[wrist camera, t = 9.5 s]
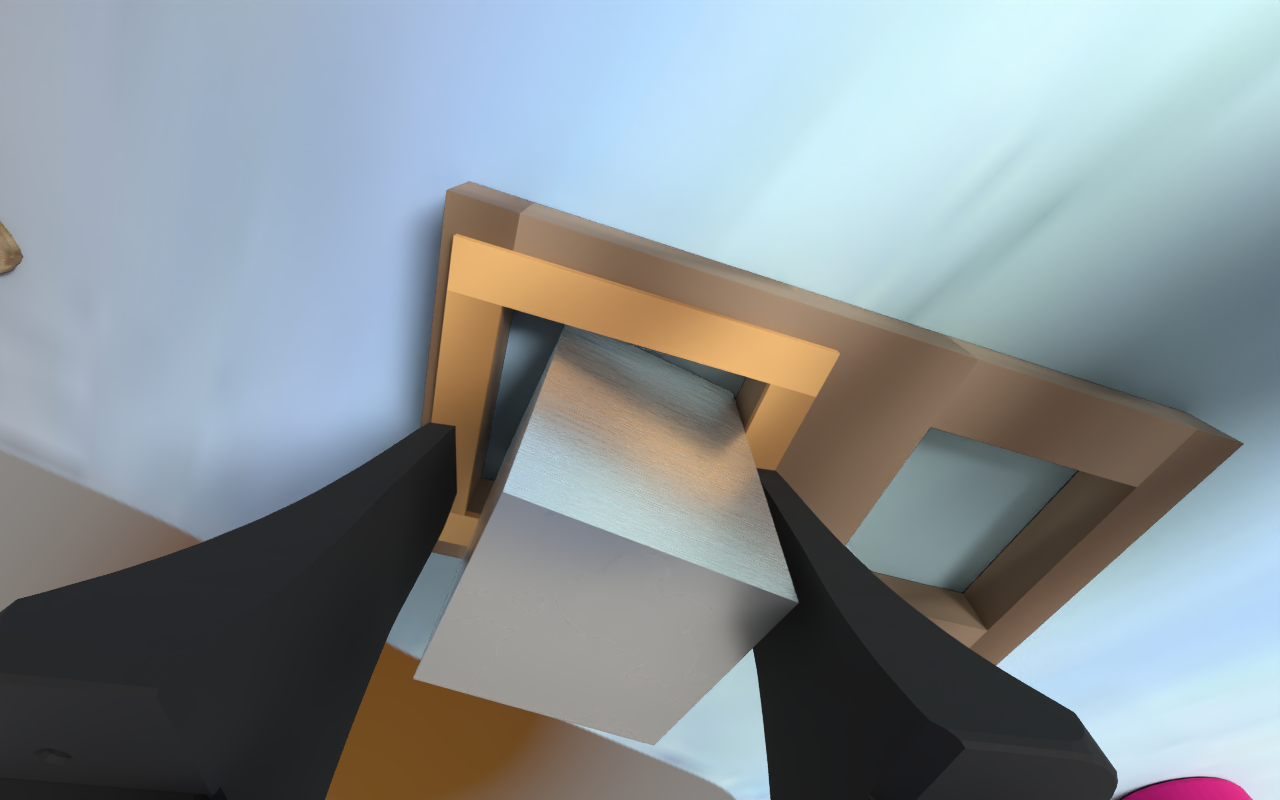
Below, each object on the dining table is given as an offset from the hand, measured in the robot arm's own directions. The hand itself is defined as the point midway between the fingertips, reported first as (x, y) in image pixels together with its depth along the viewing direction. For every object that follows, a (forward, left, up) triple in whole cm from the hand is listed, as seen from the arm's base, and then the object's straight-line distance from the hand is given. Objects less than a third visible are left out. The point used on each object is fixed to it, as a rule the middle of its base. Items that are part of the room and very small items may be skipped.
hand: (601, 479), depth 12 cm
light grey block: (0, 0, -3) cm, 3 cm away
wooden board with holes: (-6, 0, -3) cm, 6 cm away
